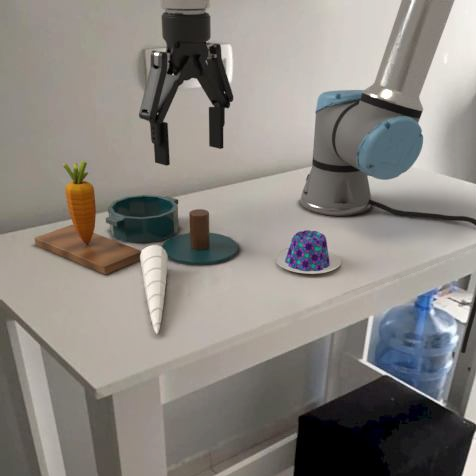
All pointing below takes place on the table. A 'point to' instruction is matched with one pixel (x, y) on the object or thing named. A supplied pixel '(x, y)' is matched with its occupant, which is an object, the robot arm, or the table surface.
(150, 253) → the unicorn horn
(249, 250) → the table surface
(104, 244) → the board
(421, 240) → the table surface
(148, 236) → the pot
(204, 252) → the lid
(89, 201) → the carrot
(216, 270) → the table surface
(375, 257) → the table surface
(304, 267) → the pudding
